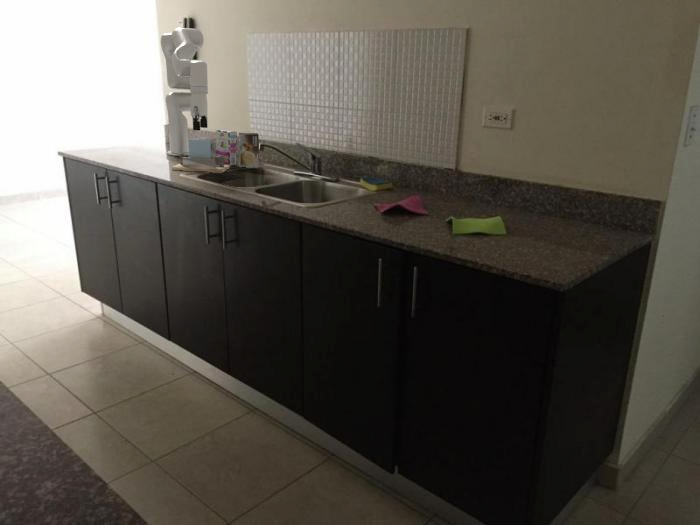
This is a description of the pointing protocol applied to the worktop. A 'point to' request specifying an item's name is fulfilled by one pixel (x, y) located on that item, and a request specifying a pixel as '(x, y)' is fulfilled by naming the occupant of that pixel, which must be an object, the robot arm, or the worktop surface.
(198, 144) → the door panel
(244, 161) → the coffee box
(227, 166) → the clear rectangular tray
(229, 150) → the candy bar box
